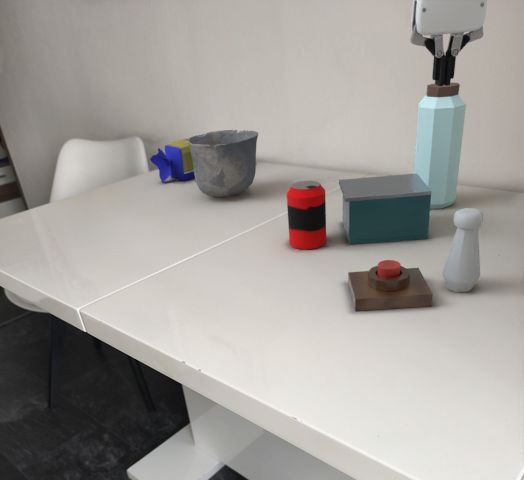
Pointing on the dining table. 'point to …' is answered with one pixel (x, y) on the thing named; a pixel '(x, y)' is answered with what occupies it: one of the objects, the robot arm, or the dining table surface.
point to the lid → (383, 187)
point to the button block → (389, 290)
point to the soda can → (306, 215)
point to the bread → (175, 161)
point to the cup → (224, 161)
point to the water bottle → (440, 142)
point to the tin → (386, 219)
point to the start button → (389, 269)
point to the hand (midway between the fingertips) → (442, 84)
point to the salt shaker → (464, 252)
